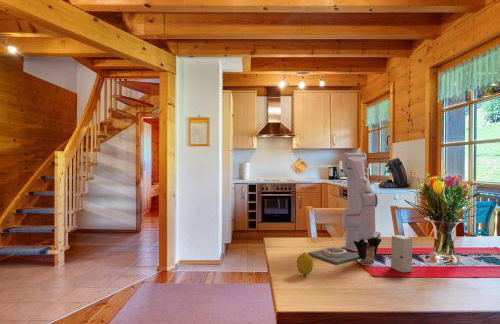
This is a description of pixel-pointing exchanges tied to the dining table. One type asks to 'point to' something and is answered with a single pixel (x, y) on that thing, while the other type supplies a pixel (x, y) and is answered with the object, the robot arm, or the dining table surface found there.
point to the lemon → (304, 264)
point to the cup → (369, 255)
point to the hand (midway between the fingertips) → (367, 257)
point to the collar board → (334, 259)
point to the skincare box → (401, 253)
